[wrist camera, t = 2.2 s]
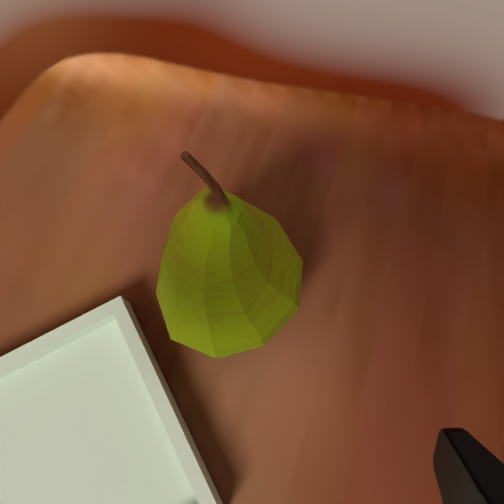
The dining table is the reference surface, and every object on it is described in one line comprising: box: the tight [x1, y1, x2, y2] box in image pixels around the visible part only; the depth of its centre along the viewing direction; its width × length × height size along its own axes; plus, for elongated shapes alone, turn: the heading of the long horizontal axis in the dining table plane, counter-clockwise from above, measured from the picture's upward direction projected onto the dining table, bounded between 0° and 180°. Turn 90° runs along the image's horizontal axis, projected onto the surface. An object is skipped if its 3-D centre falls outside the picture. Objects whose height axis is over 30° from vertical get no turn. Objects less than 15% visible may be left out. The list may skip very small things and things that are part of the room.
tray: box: [0, 296, 223, 504], centre depth 19 cm, size 10×10×2 cm
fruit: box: [156, 151, 303, 359], centre depth 16 cm, size 6×6×12 cm
